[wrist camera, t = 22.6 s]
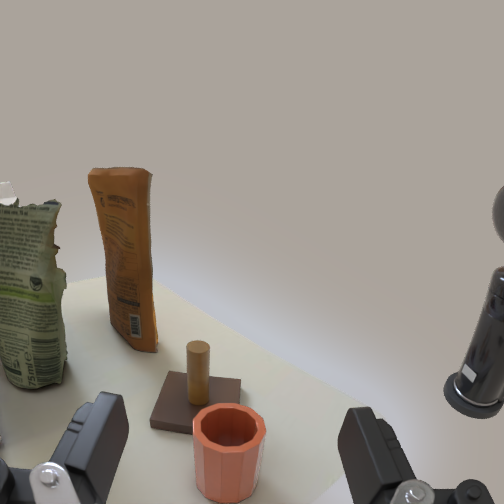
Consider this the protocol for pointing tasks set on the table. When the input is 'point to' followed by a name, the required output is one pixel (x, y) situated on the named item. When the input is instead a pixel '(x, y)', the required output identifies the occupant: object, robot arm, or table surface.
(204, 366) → the ring stand
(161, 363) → the table surface
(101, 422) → the robot arm
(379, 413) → the table surface
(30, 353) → the pouch
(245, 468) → the faceted terracotta cup
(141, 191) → the pancake mix bag
